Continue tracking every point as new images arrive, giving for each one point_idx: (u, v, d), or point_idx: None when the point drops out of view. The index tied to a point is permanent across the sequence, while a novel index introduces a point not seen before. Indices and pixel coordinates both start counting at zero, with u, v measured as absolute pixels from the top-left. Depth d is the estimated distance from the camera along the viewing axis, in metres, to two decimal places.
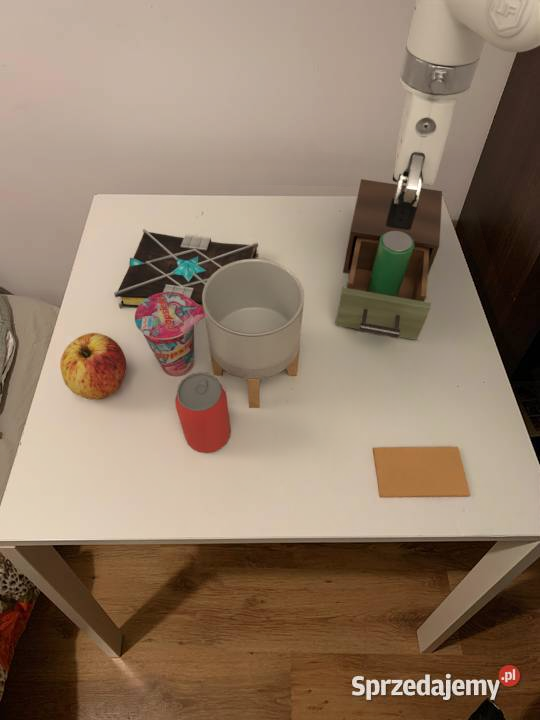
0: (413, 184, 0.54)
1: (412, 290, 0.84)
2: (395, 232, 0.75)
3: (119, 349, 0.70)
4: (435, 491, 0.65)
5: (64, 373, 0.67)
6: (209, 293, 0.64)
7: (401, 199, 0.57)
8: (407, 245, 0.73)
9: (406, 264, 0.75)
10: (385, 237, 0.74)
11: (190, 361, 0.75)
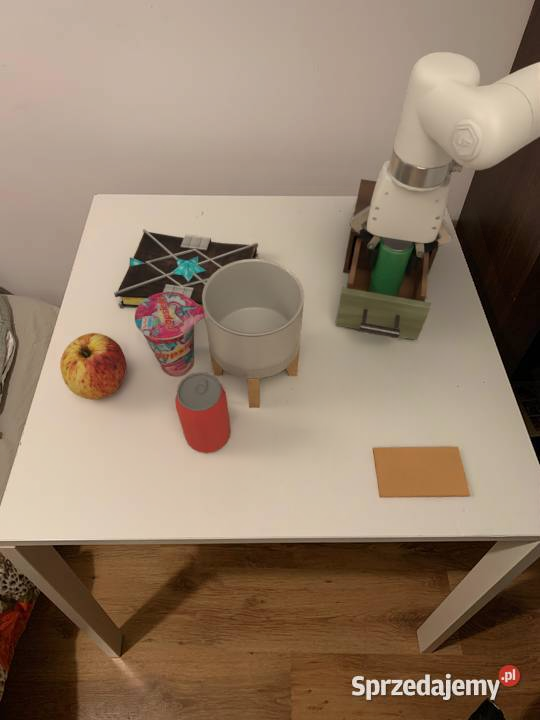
0: (451, 234, 0.71)
1: (412, 290, 0.84)
2: None
3: (119, 349, 0.70)
4: (435, 491, 0.65)
5: (64, 373, 0.67)
6: (209, 293, 0.64)
7: (436, 246, 0.72)
8: (407, 245, 0.73)
9: (406, 264, 0.75)
10: (385, 237, 0.74)
11: (190, 361, 0.75)
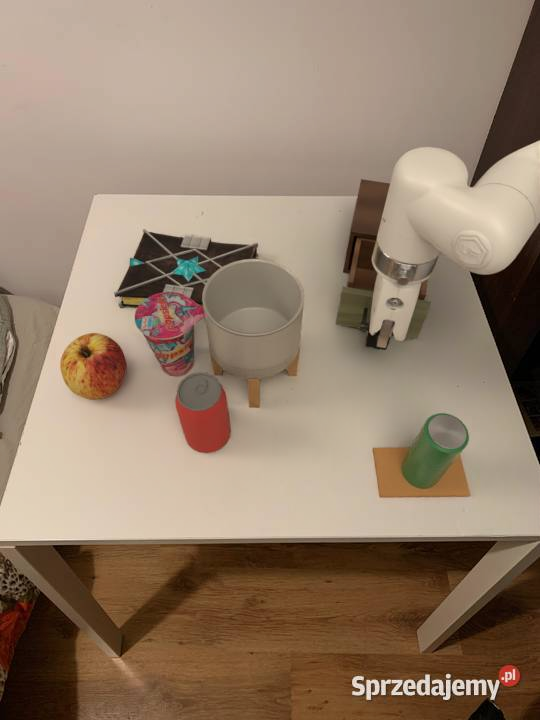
0: (382, 344, 0.65)
1: None
2: (443, 417, 0.58)
3: (119, 349, 0.70)
4: (435, 491, 0.65)
5: (64, 373, 0.67)
6: (209, 293, 0.64)
7: (376, 334, 0.67)
8: (460, 439, 0.57)
9: None
10: (431, 425, 0.57)
11: (190, 361, 0.75)
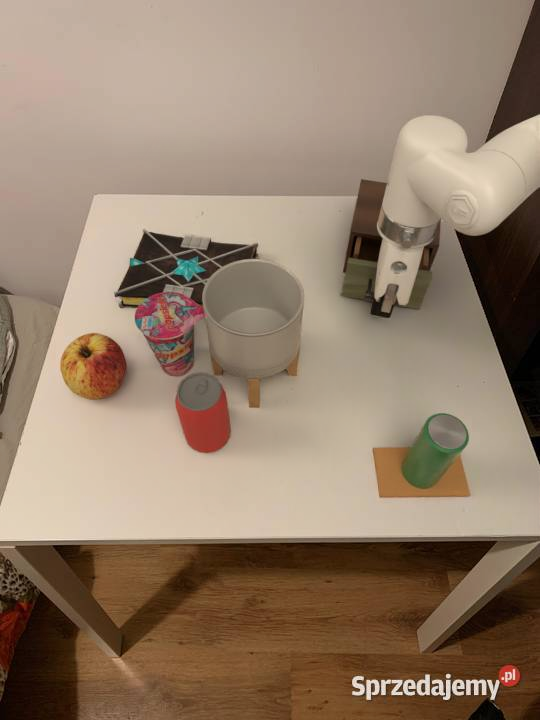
0: (386, 309, 0.69)
1: None
2: (443, 417, 0.58)
3: (119, 349, 0.70)
4: (435, 491, 0.65)
5: (64, 373, 0.67)
6: (209, 293, 0.64)
7: (381, 300, 0.71)
8: (460, 439, 0.57)
9: None
10: (431, 425, 0.57)
11: (190, 361, 0.75)
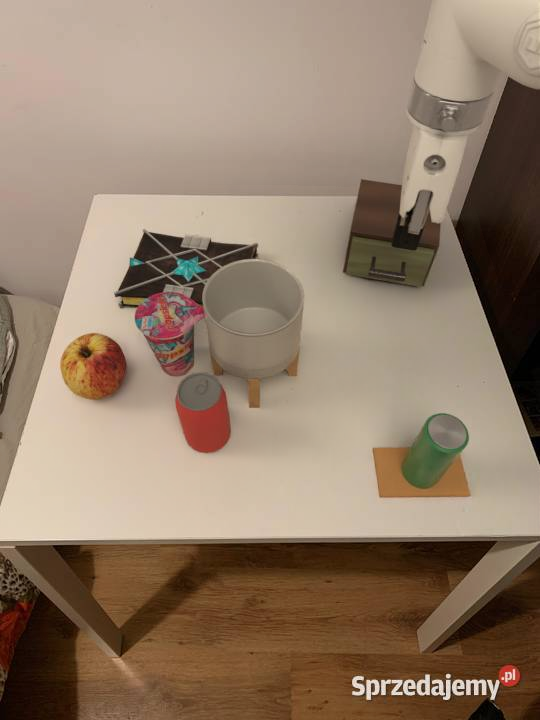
0: (415, 228, 0.54)
1: None
2: (443, 417, 0.58)
3: (119, 349, 0.70)
4: (435, 491, 0.65)
5: (64, 373, 0.67)
6: (209, 293, 0.64)
7: (407, 221, 0.56)
8: (460, 439, 0.57)
9: None
10: (431, 425, 0.57)
11: (190, 361, 0.75)
